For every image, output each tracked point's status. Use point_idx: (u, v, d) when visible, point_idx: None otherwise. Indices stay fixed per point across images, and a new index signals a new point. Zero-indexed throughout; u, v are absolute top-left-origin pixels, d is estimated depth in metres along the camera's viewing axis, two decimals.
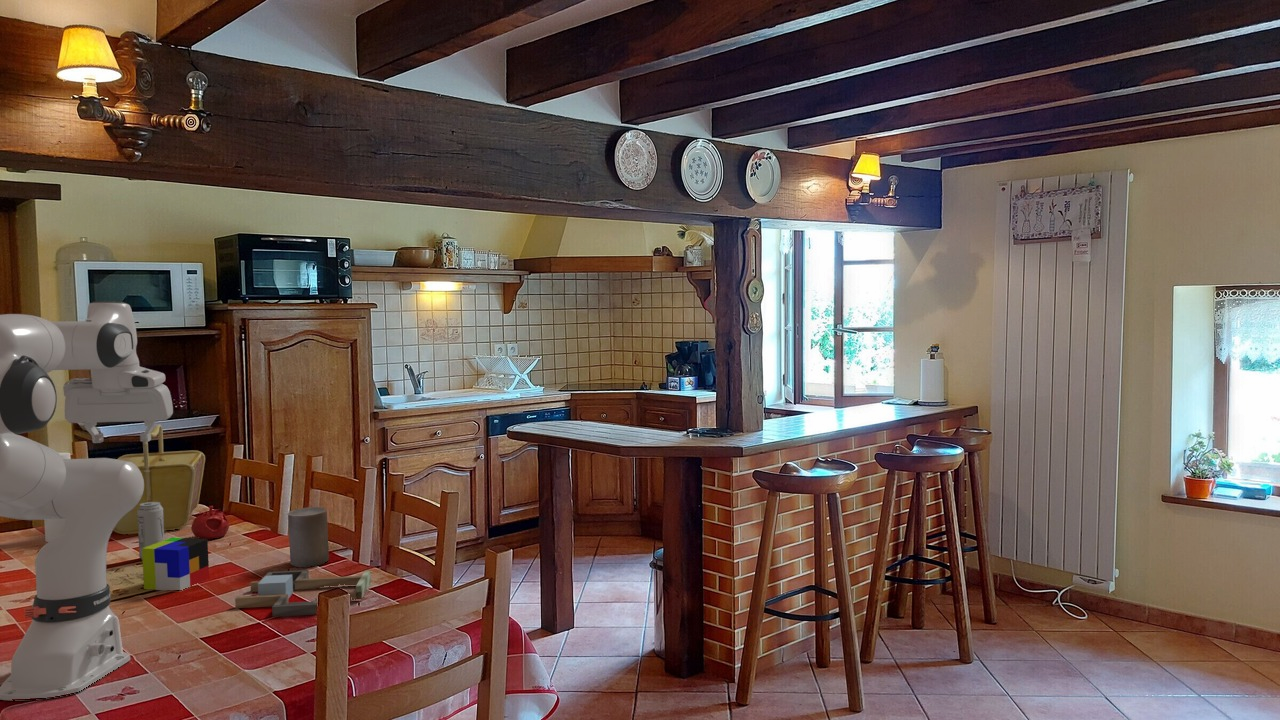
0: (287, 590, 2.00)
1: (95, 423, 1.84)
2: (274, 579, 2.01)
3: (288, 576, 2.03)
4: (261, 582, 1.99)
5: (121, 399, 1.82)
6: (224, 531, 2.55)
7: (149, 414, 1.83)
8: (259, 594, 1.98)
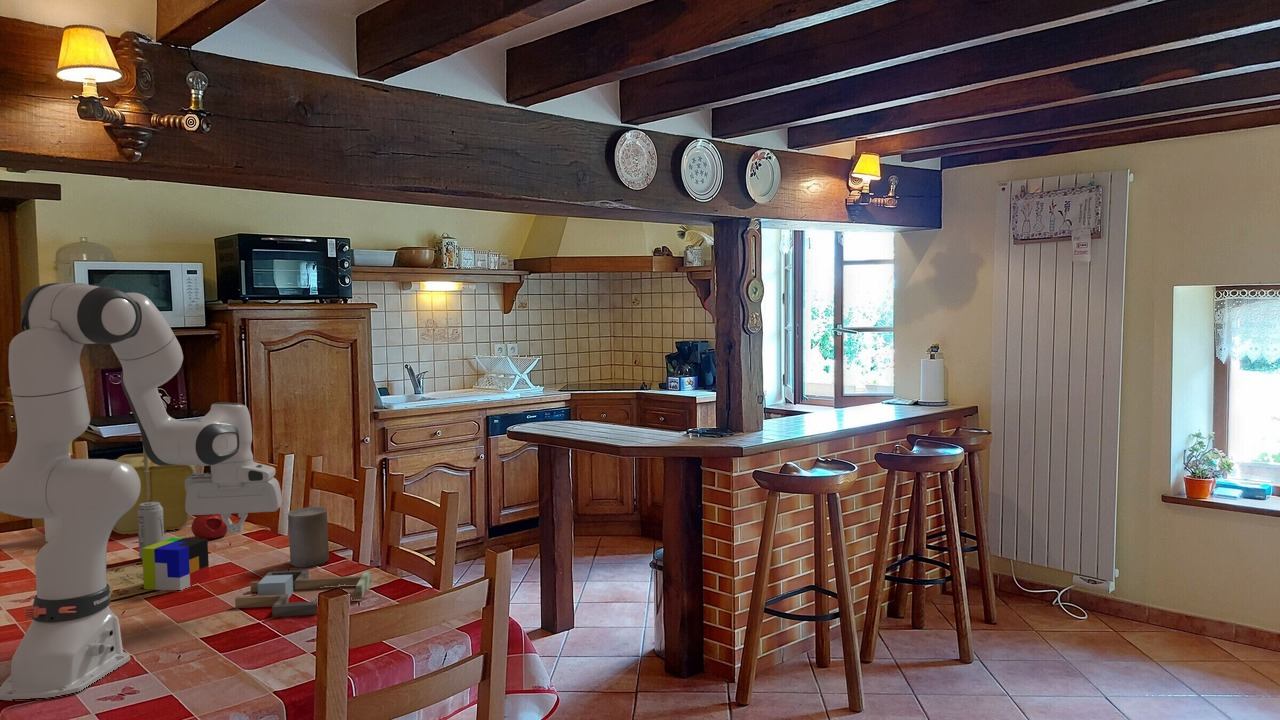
0: (287, 590, 2.00)
1: (230, 514, 2.00)
2: (274, 579, 2.01)
3: (288, 576, 2.03)
4: (261, 582, 1.99)
5: (237, 492, 1.97)
6: (224, 531, 2.55)
7: (262, 506, 1.98)
8: (259, 594, 1.98)
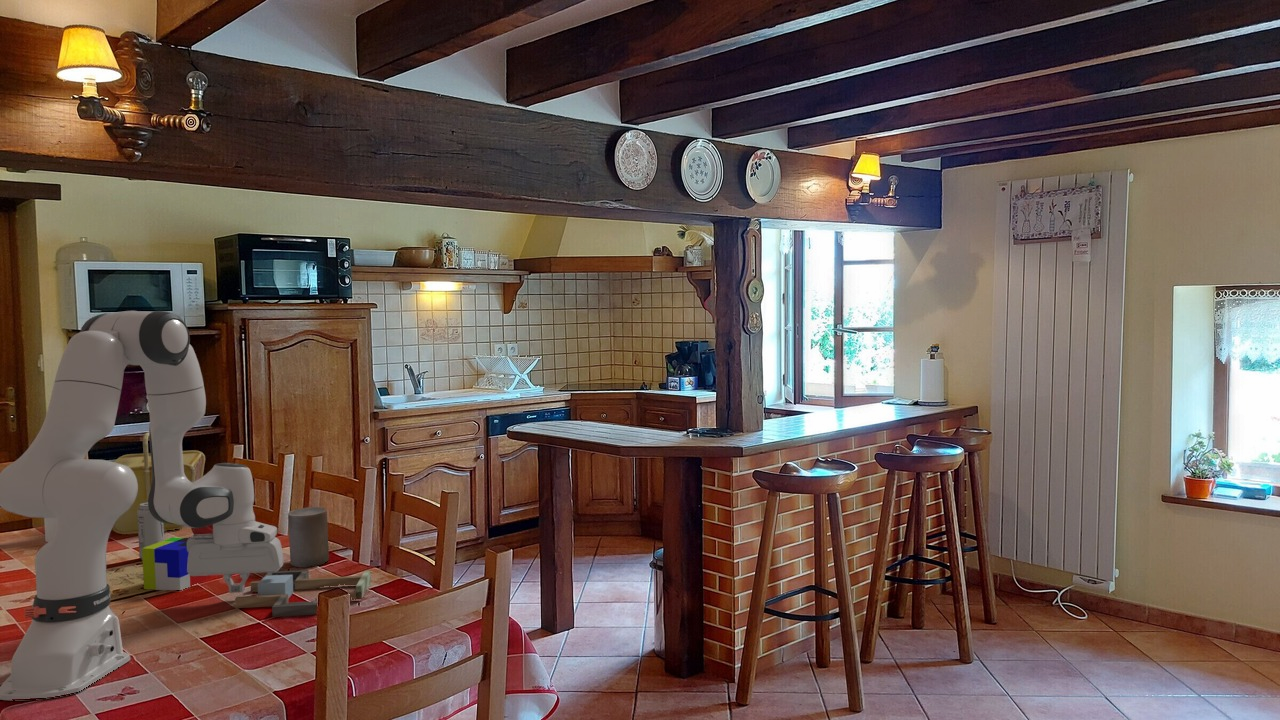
0: (287, 590, 2.00)
1: (231, 574, 2.00)
2: (274, 579, 2.01)
3: (288, 576, 2.03)
4: (261, 582, 1.99)
5: (238, 553, 1.98)
6: None
7: (264, 566, 1.99)
8: (259, 594, 1.98)
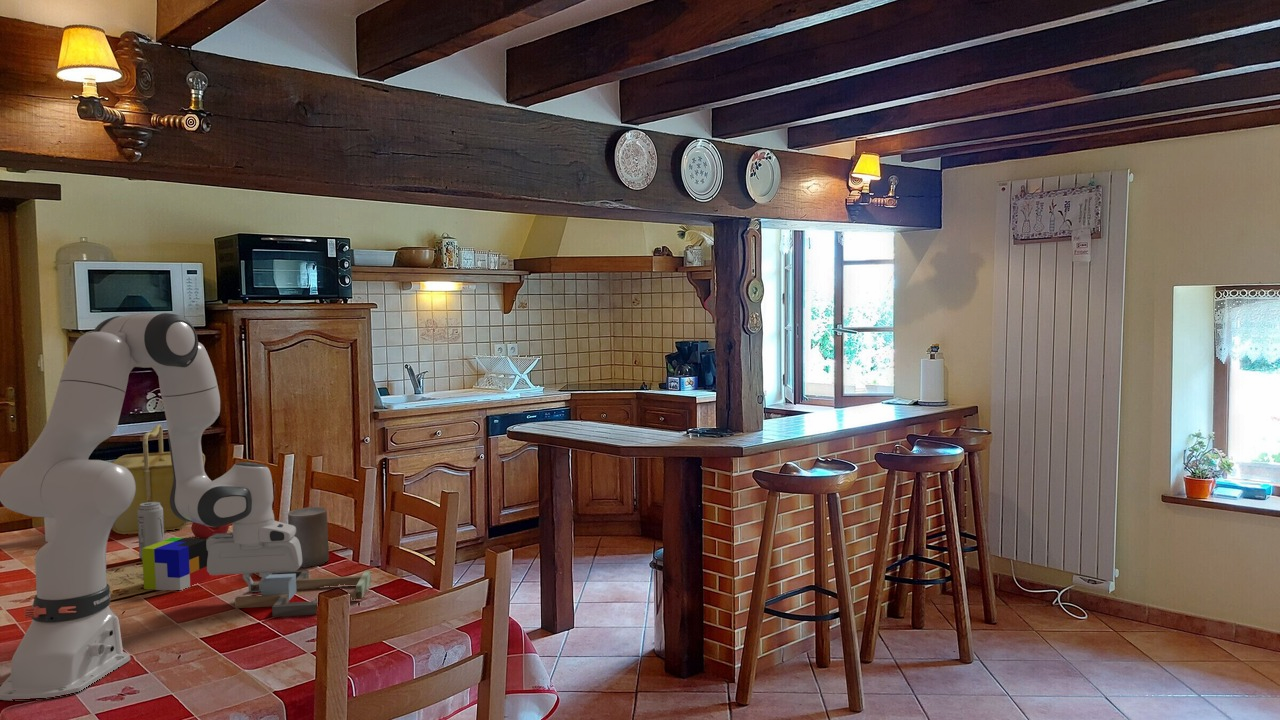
0: (290, 589, 2.00)
1: (251, 573, 2.01)
2: (277, 578, 2.01)
3: (291, 575, 2.03)
4: (264, 581, 1.99)
5: (258, 552, 1.99)
6: (224, 531, 2.55)
7: (283, 565, 2.00)
8: (262, 593, 1.98)
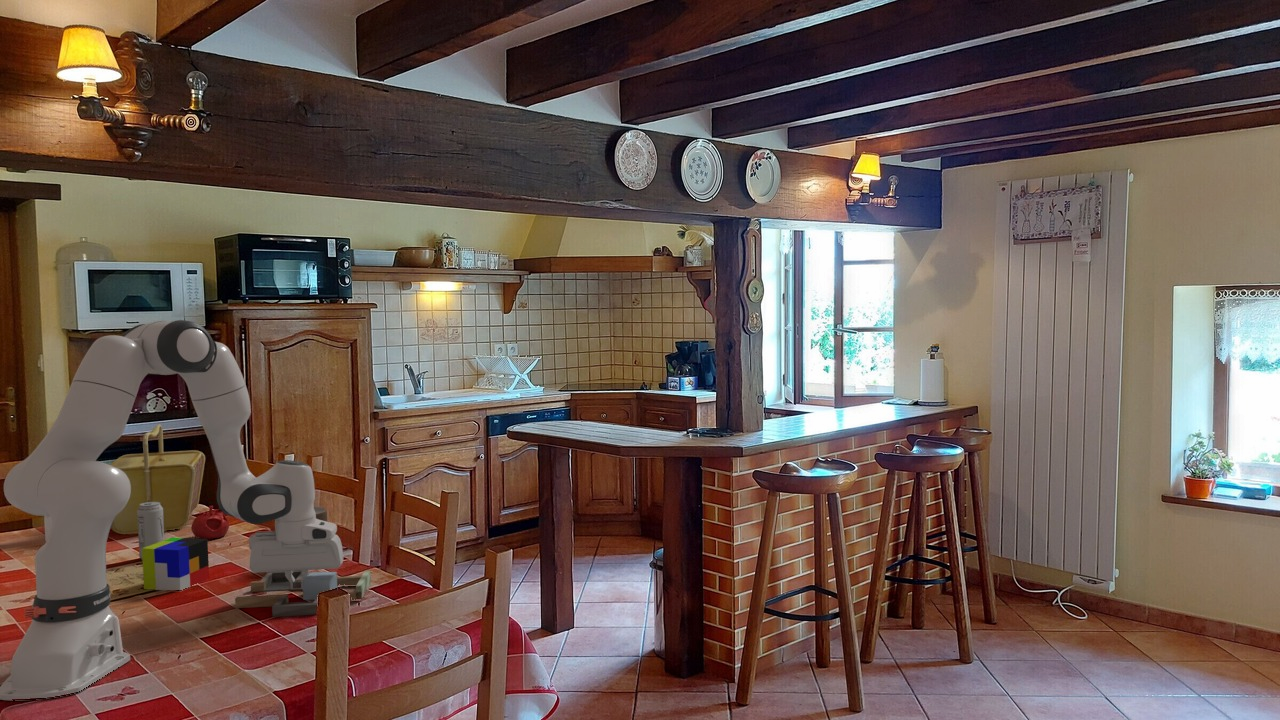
0: (331, 587, 2.01)
1: (293, 571, 2.02)
2: (318, 576, 2.02)
3: (332, 573, 2.04)
4: (306, 579, 2.00)
5: (300, 550, 2.00)
6: (224, 531, 2.55)
7: (325, 563, 2.01)
8: (304, 591, 1.99)
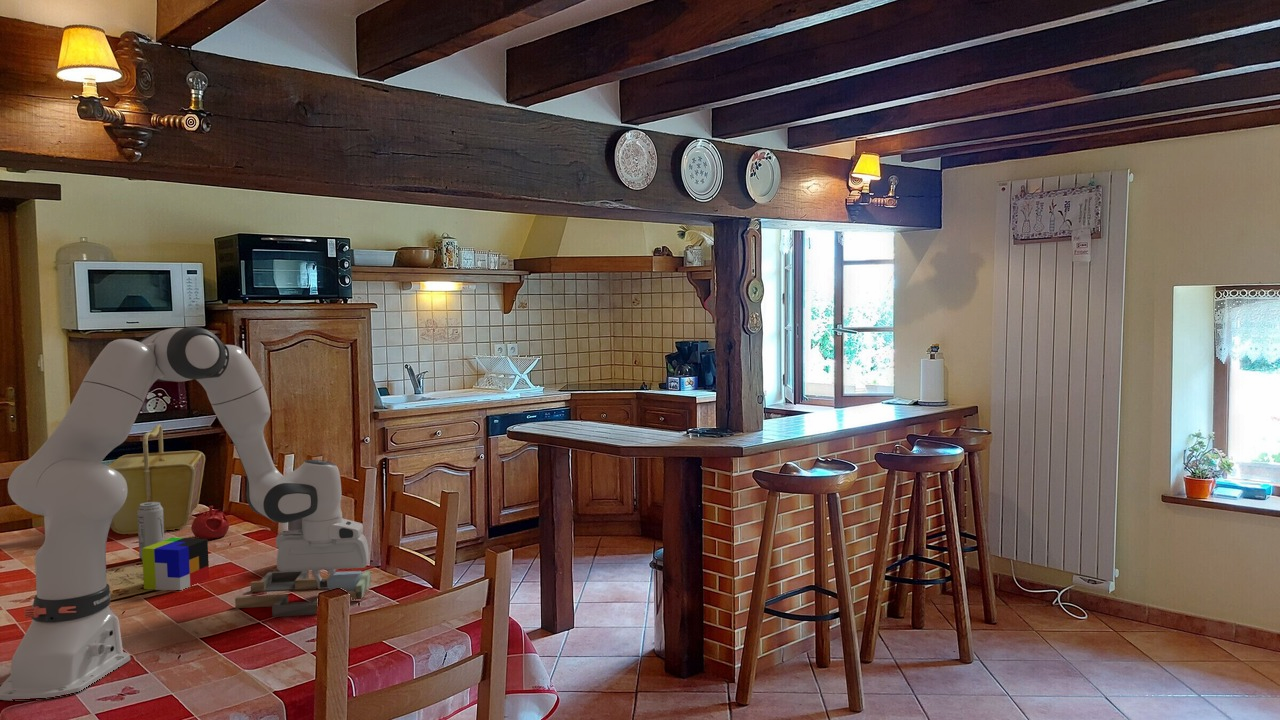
0: None
1: (319, 570, 2.03)
2: (344, 575, 2.02)
3: (358, 573, 2.04)
4: (332, 578, 2.01)
5: (327, 549, 2.01)
6: (224, 531, 2.55)
7: (351, 562, 2.02)
8: None
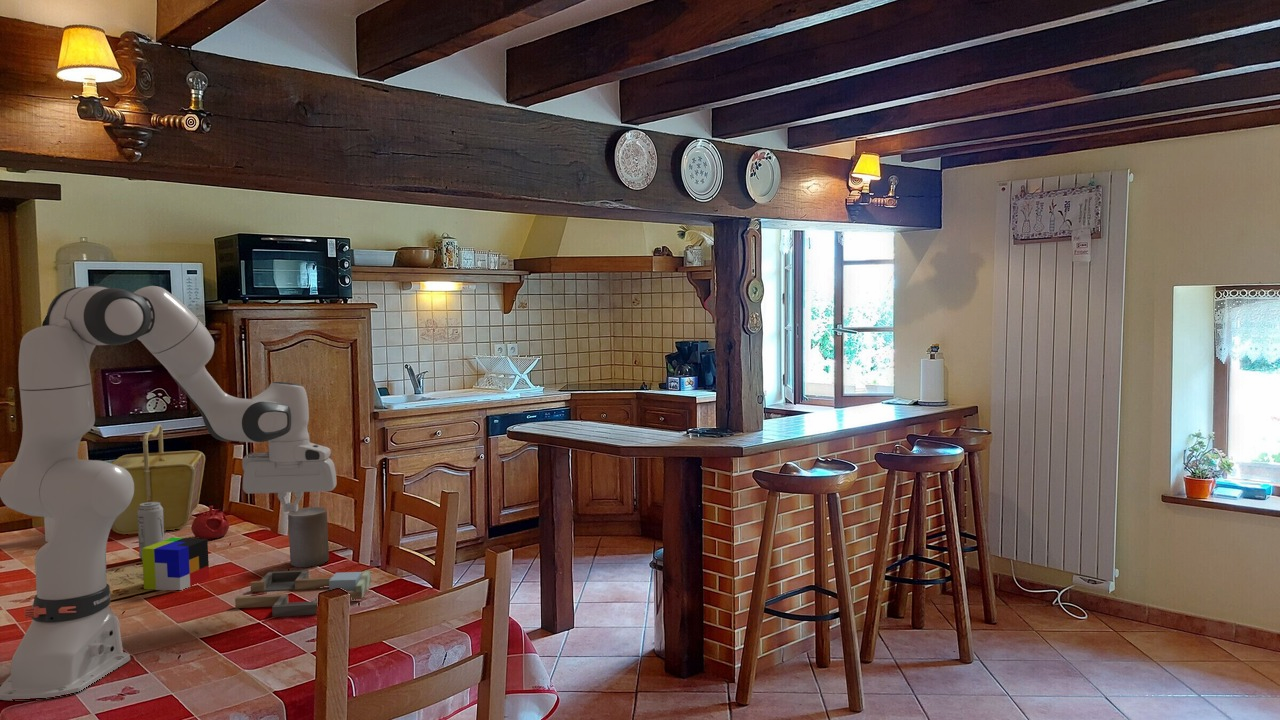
0: None
1: (285, 493, 2.02)
2: (344, 576, 2.02)
3: (358, 573, 2.05)
4: (332, 579, 2.00)
5: (293, 471, 2.00)
6: (224, 531, 2.55)
7: (318, 485, 2.00)
8: None
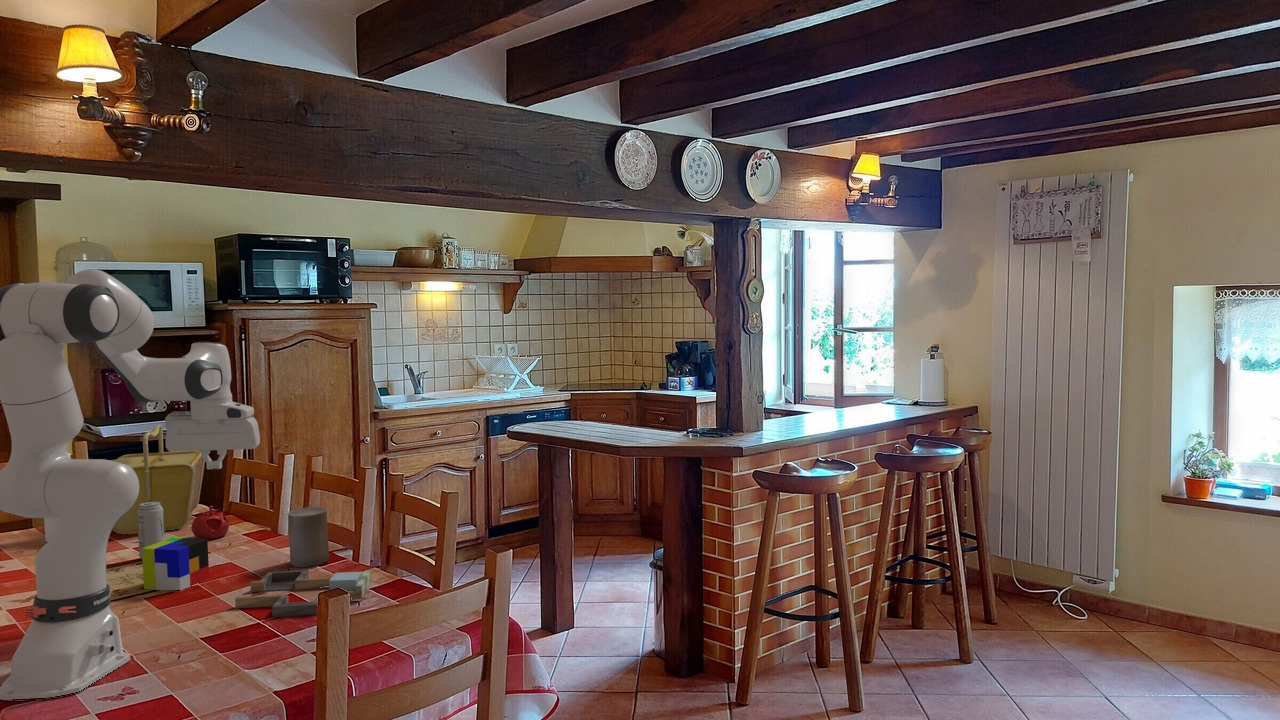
0: None
1: (209, 451, 2.06)
2: (344, 576, 2.02)
3: (358, 573, 2.05)
4: (332, 579, 2.00)
5: (216, 429, 2.04)
6: (224, 531, 2.55)
7: (240, 443, 2.04)
8: None
